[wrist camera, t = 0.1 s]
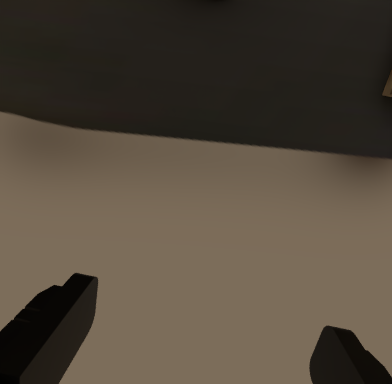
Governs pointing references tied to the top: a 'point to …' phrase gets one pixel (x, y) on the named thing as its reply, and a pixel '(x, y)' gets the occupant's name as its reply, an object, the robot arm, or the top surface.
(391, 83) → the crate
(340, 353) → the robot arm
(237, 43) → the top surface
